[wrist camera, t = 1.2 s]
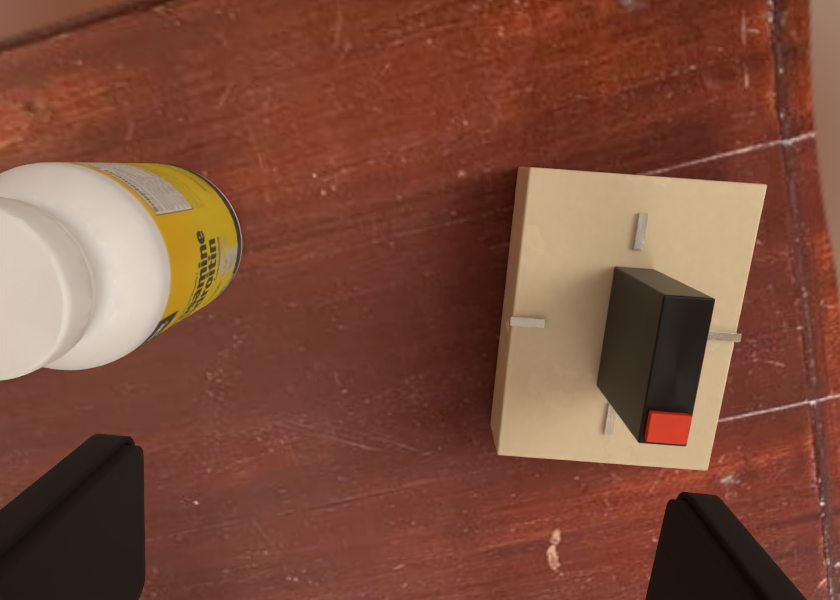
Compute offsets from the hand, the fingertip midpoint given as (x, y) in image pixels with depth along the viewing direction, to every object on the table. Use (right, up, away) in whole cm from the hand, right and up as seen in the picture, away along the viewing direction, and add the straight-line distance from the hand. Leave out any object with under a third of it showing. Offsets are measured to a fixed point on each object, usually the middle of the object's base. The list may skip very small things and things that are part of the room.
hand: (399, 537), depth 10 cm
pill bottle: (-11, +7, +16) cm, 20 cm away
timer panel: (+9, +4, +16) cm, 18 cm away
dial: (+9, +3, +13) cm, 16 cm away
